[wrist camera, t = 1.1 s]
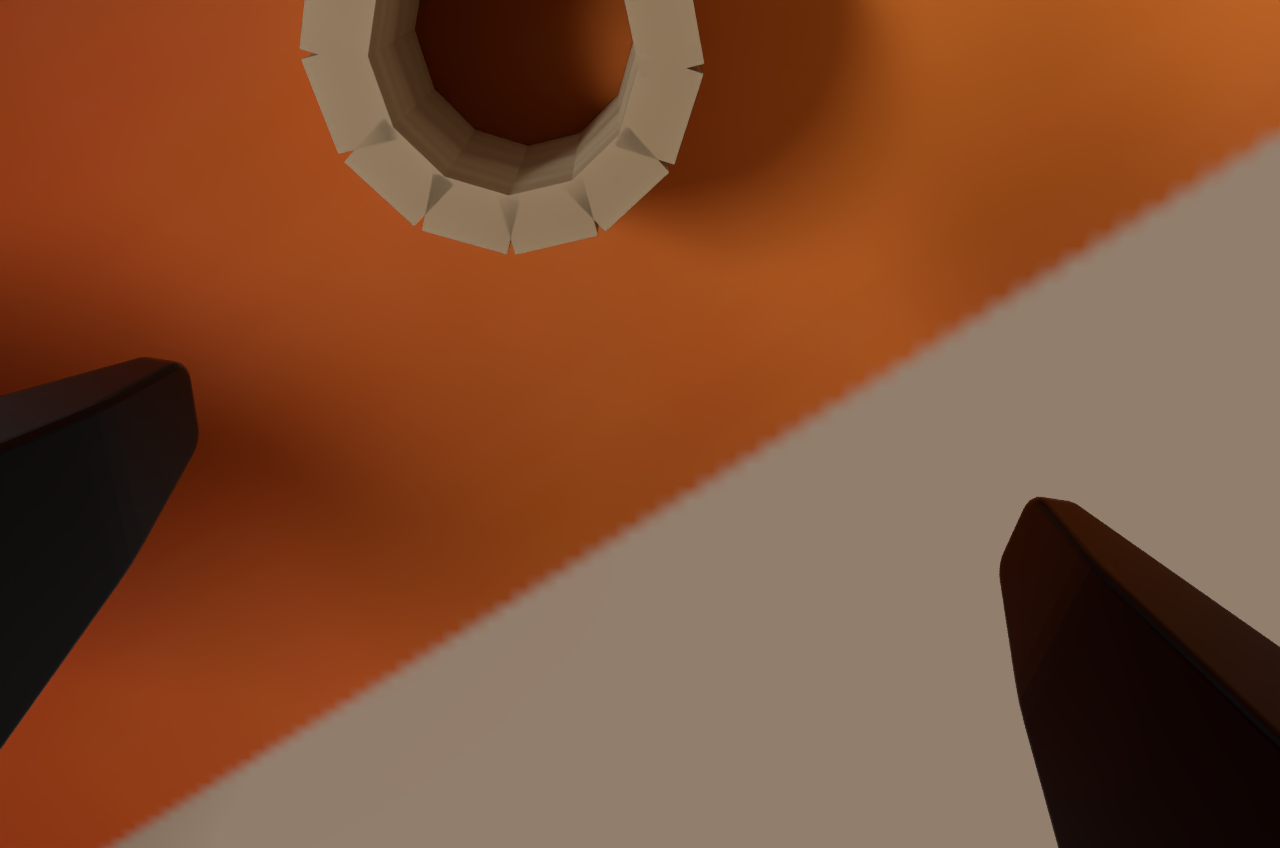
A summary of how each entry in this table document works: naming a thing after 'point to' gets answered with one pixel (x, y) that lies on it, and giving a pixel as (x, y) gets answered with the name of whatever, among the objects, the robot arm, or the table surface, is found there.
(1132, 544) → the robot arm
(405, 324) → the table surface
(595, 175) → the wooden ring
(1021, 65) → the table surface
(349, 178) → the table surface
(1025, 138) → the table surface
